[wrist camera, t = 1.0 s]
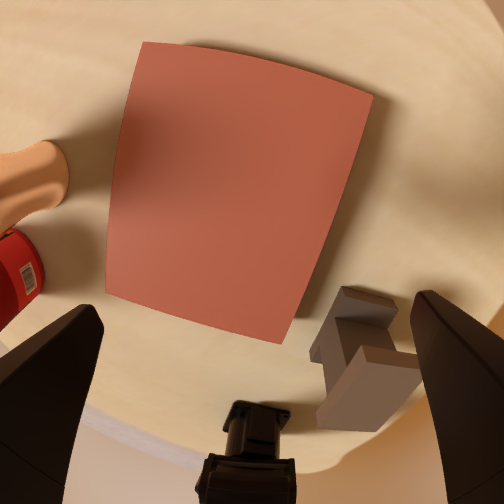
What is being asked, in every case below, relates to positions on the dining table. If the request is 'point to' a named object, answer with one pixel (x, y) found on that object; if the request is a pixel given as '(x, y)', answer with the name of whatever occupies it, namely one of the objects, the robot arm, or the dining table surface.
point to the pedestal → (361, 364)
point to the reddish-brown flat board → (227, 185)
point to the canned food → (18, 275)
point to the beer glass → (31, 182)
